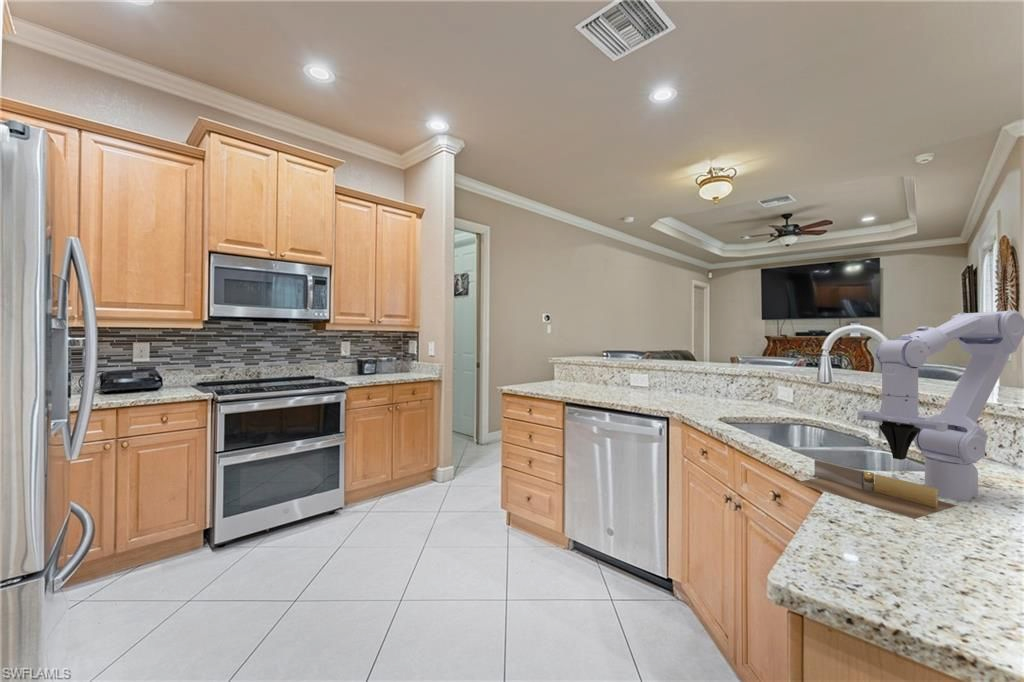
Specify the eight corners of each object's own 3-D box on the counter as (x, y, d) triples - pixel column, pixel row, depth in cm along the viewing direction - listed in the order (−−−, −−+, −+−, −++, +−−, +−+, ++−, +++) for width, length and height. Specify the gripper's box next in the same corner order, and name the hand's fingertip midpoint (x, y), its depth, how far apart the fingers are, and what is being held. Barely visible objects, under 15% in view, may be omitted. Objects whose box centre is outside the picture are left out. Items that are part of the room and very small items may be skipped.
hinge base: (832, 476, 106) (832, 456, 106) (957, 510, 85) (957, 485, 85) (789, 484, 99) (789, 464, 99) (914, 523, 78) (914, 497, 78)
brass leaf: (861, 489, 93) (862, 472, 93) (866, 487, 94) (866, 471, 94) (934, 508, 83) (934, 489, 83) (938, 506, 83) (938, 488, 83)
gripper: (850, 392, 94) (849, 452, 94) (935, 400, 81) (935, 470, 81) (867, 391, 97) (867, 449, 97) (952, 399, 83) (952, 466, 83)
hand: (899, 458), depth 89 cm, fingers closed
